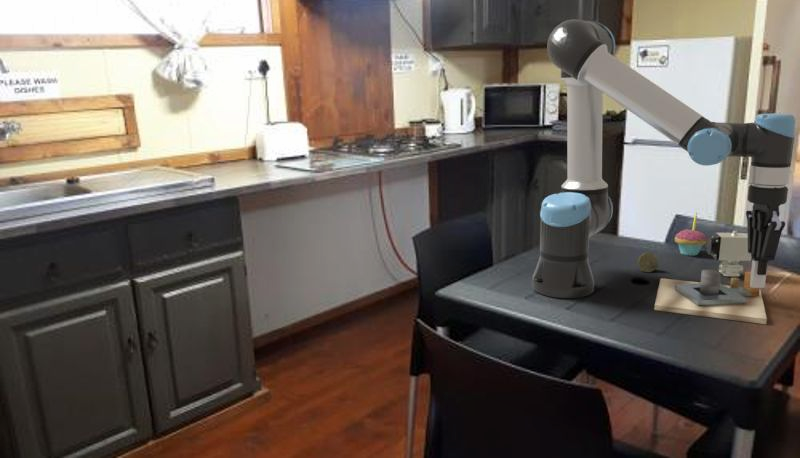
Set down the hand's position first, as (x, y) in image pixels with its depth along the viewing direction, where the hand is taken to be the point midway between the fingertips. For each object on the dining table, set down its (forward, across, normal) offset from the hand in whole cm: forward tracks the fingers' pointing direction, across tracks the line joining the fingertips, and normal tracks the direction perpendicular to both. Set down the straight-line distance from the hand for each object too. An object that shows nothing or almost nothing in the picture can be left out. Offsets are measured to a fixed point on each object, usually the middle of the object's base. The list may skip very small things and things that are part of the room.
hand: (757, 286), depth 141 cm
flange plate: (+2, +1, +7) cm, 8 cm away
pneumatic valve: (+4, +21, -3) cm, 21 cm away
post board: (+4, +1, +10) cm, 11 cm away
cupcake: (+4, +40, 0) cm, 40 cm away
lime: (+4, +24, +17) cm, 30 cm away
